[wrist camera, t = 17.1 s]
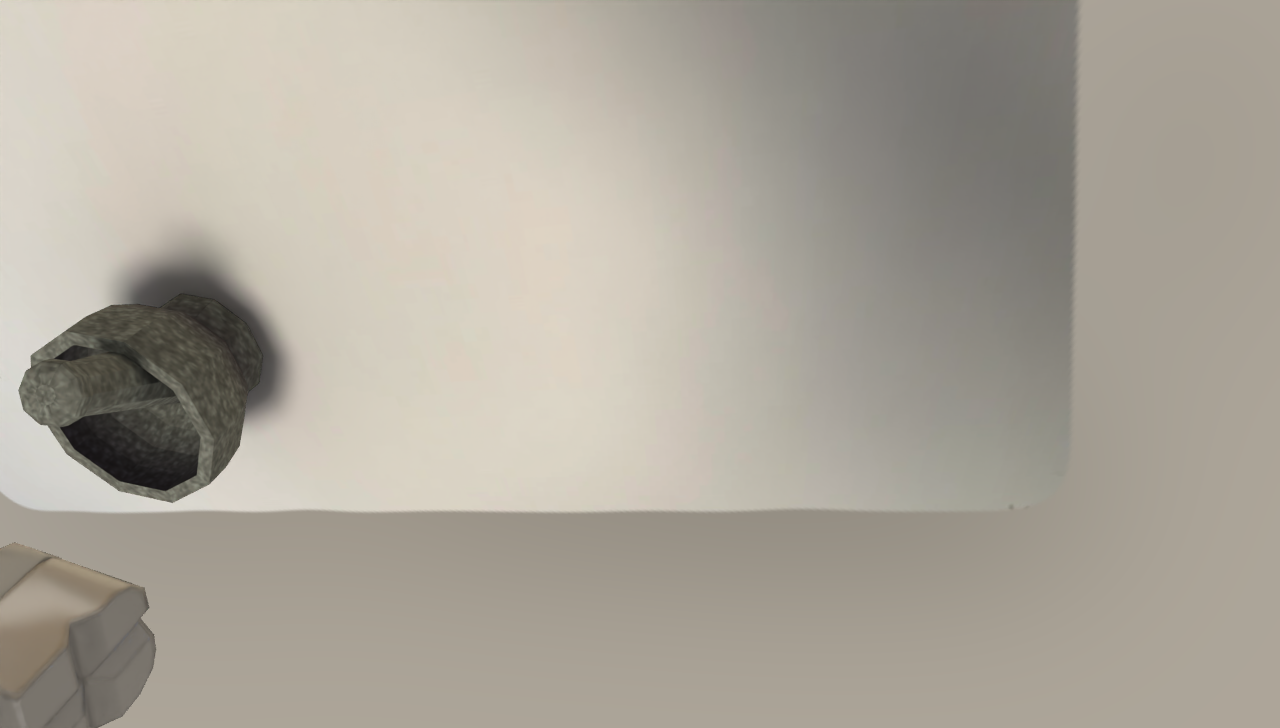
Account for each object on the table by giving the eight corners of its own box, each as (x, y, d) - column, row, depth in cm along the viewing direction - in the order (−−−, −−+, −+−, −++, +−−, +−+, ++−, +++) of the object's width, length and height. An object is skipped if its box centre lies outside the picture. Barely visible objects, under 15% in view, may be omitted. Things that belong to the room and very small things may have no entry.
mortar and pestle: (279, 447, 55) (136, 604, 45) (126, 377, 55) (-50, 519, 46) (306, 288, 49) (145, 431, 39) (132, 209, 49) (-72, 332, 39)
